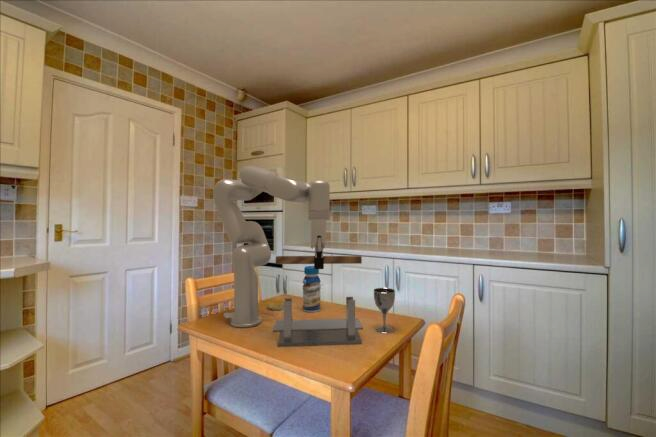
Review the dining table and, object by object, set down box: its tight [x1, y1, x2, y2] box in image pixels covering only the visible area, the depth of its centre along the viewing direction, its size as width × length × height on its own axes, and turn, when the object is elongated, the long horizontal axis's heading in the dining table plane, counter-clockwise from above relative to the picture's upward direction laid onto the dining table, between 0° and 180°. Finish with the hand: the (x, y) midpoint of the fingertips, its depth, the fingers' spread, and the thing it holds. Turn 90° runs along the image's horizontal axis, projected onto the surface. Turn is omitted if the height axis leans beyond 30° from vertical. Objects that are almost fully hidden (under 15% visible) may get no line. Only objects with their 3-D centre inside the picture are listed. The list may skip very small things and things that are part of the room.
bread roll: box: [266, 299, 285, 311], centre depth 144 cm, size 8×9×4 cm
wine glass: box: [373, 287, 396, 334], centre depth 115 cm, size 8×8×15 cm
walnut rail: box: [275, 255, 363, 265], centre depth 107 cm, size 30×3×2 cm, turn 94°
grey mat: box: [272, 317, 364, 333], centre depth 120 cm, size 34×11×1 cm, turn 94°
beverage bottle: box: [302, 265, 322, 313], centre depth 141 cm, size 8×8×20 cm
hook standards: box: [277, 296, 363, 348], centre depth 106 cm, size 28×10×14 cm, turn 94°
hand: (318, 267), depth 107 cm, fingers closed on walnut rail, 3 cm apart
